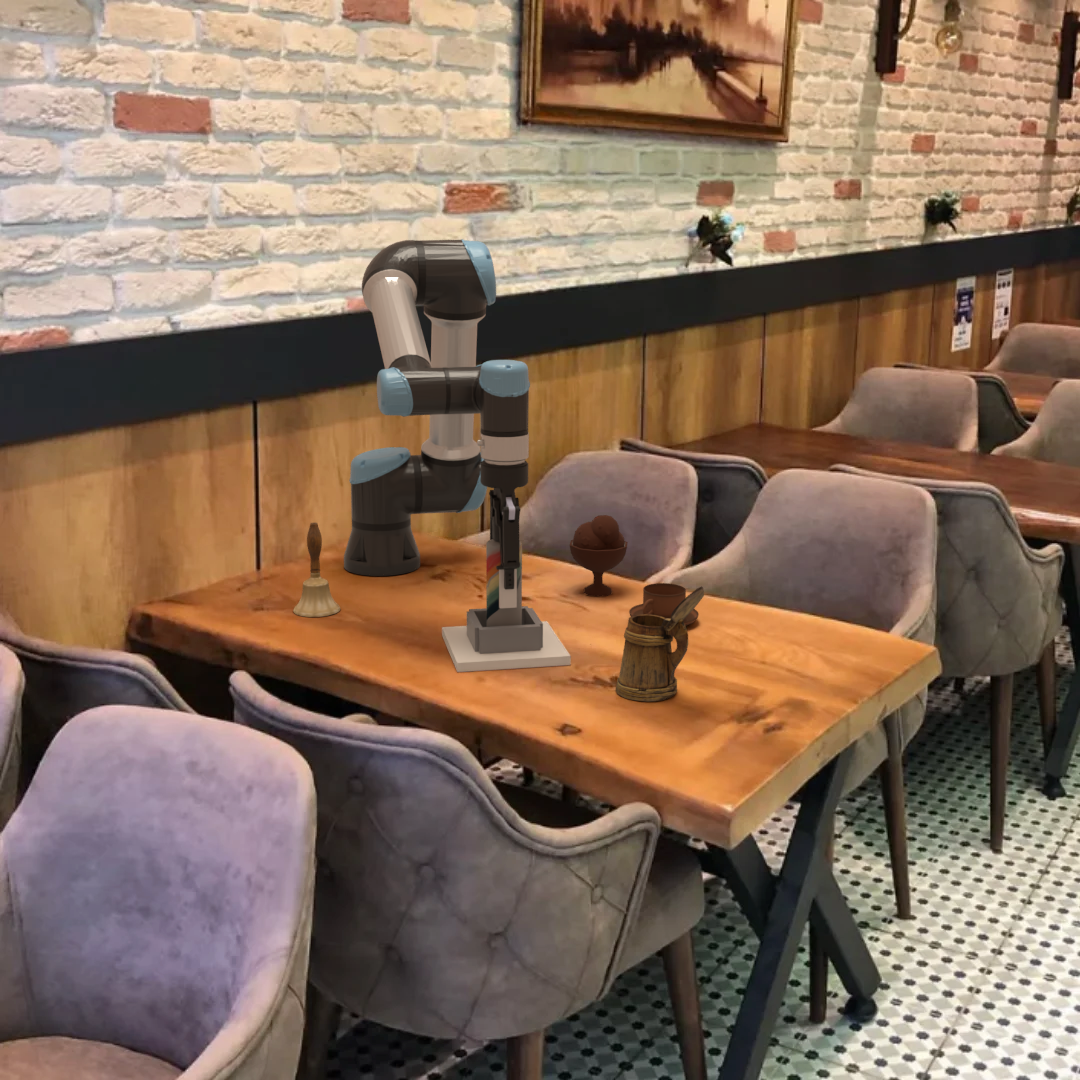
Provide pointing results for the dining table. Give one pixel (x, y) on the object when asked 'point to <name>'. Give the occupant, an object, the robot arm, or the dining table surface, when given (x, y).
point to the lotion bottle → (493, 559)
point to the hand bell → (315, 583)
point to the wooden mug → (654, 653)
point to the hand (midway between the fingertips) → (504, 600)
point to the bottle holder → (504, 644)
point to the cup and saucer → (663, 601)
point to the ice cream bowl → (598, 550)
